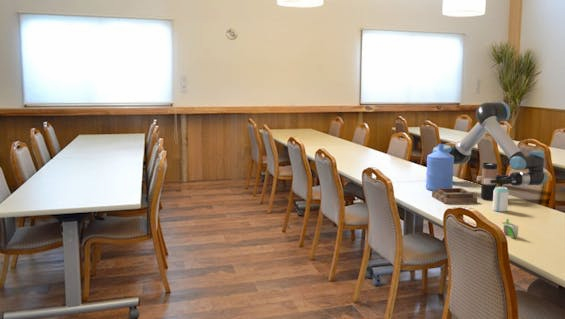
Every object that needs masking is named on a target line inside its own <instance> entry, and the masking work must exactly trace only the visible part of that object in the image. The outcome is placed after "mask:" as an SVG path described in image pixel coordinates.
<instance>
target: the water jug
mask: <svg viewBox="0 0 565 319" xmlns="http://www.w3.org/2000/svg"><path fill="white" fill-rule="evenodd" d="M437 144H438V145H437V146H438V151H436V152H434V153H433V152H432V153H430V154H428V155H427V156H426V157H427V158H426V178H425V179H426V180H425V183H426V184H425V190H428V191H430V192H435V191H436V189H442V188H454V187H453V182H454V181H453V178H454V165H455V164H454V156H452V155H450V154H449V153H447V152H445V151H444V150H443V149H444V147H443V146H444V145H445V144H444V143H437ZM453 164H454V165H453Z"/></svg>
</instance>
